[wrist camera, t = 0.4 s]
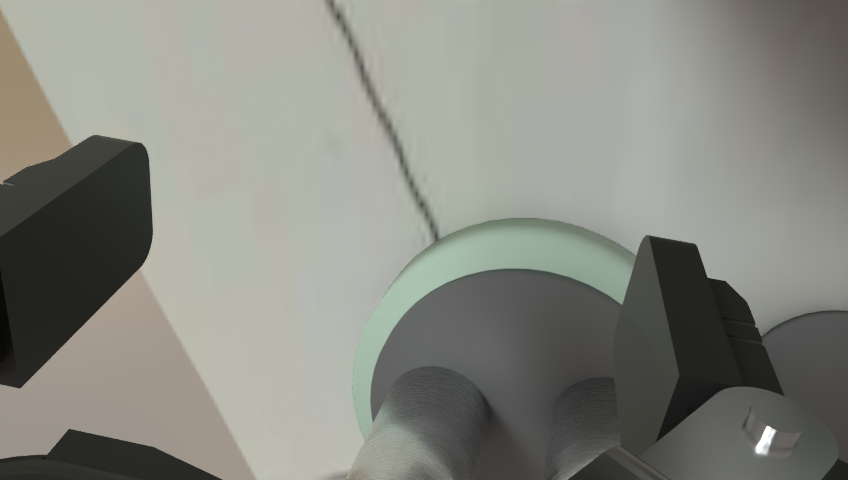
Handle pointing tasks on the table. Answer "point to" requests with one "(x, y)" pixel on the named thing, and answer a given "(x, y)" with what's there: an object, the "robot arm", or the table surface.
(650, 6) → the table surface
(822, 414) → the rubber pad
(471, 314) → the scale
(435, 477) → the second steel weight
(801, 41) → the table surface
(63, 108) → the table surface
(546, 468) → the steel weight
